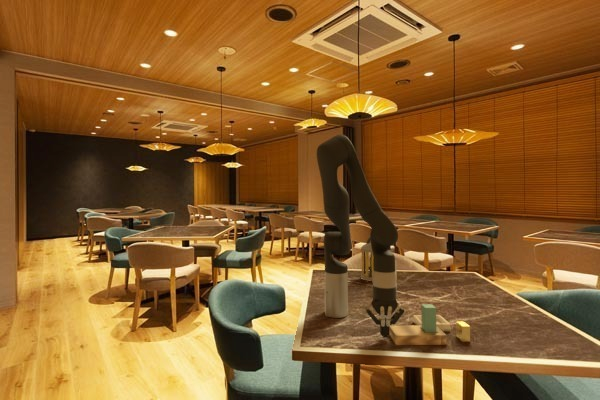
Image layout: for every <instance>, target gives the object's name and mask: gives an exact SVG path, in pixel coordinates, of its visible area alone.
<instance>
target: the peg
mask: <svg viewBox="0 0 600 400" xmlns="http://www.w3.org/2000/svg"><path fill="white" fill-rule="evenodd" d="M420 306H421V310H420V311H421V314H420V315H421V317H422V331H423V332H424V333H436V315H437V307H436V306H435V305H434V304H432V303H429V304H428V303H421V305H420Z"/></svg>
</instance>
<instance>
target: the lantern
mask: <svg viewBox="0 0 600 400" xmlns="http://www.w3.org/2000/svg"><path fill="white" fill-rule="evenodd" d="M360 252H361V275H360V277H361V278H363V279H367V280H373V259H374V257H373V252H372V246H371V240H370V235H369V236H368V237H367V239H366V243H365V244H363V245H362V246H361V247H360ZM369 254H370V256H369ZM369 257H370V258H369ZM360 277H359V278H360Z"/></svg>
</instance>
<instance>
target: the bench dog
mask: <svg viewBox="0 0 600 400" xmlns="http://www.w3.org/2000/svg"><path fill="white" fill-rule="evenodd" d="M455 326H456V327H455V328H456V329H455V332H456V338H457V339H459V341H461V342H463V343H466V342H468V343H469V342H471V326H470V325H469V324H468V323H466V322H465V321H456V322H455Z"/></svg>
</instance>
